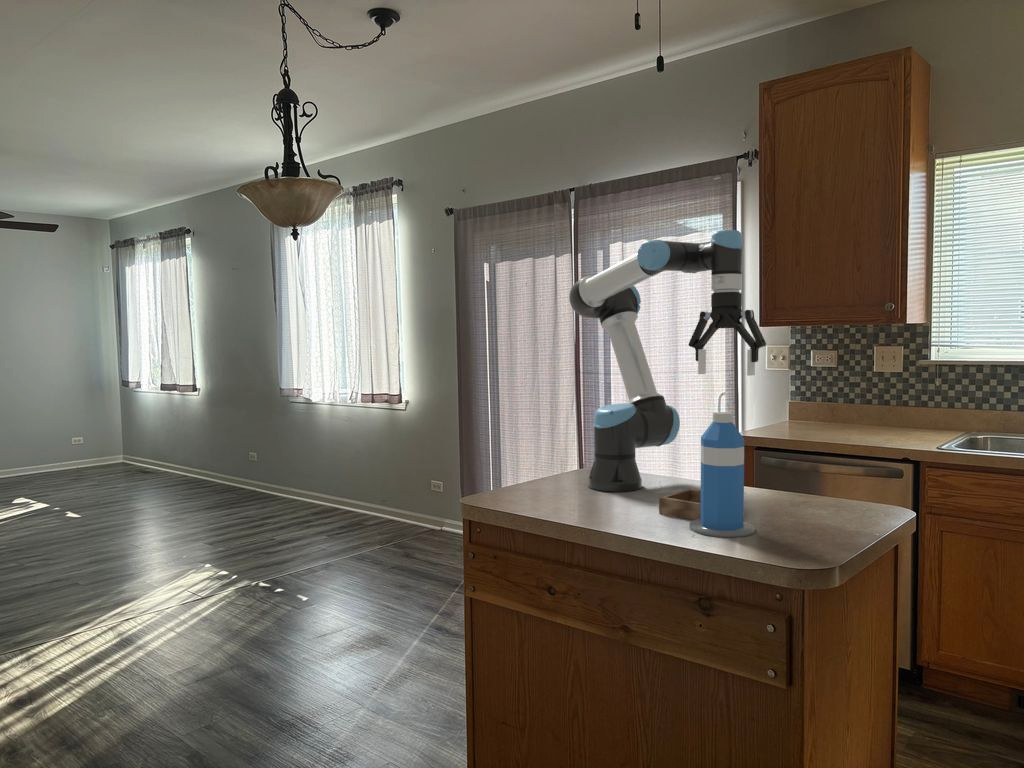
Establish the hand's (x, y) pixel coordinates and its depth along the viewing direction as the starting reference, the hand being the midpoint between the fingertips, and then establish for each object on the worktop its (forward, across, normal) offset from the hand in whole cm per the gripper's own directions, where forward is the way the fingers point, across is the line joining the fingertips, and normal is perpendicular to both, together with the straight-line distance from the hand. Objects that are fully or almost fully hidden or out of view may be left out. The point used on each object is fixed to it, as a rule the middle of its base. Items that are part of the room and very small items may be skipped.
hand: (725, 374), depth 188 cm
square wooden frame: (+33, +2, -17) cm, 37 cm away
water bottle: (+32, +13, -27) cm, 44 cm away
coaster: (+33, +13, -27) cm, 44 cm away
